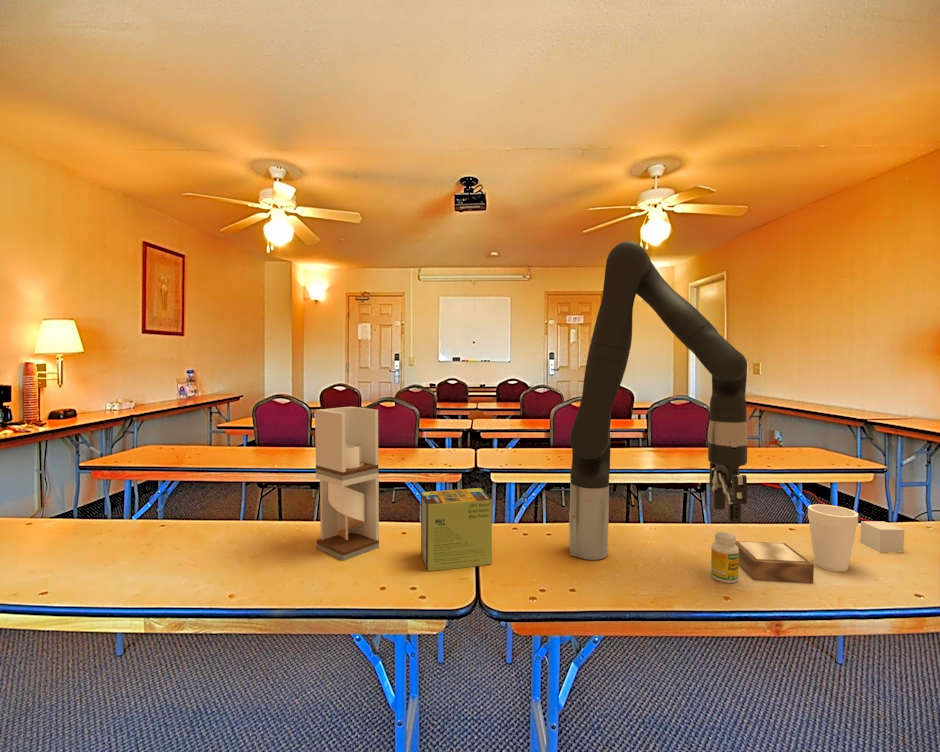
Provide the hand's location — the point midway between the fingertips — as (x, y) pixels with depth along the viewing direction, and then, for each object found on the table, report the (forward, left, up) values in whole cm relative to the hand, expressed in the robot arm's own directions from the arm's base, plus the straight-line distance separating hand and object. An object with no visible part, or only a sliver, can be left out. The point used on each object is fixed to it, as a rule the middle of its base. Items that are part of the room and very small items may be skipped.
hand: (726, 515), depth 107 cm
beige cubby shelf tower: (-88, +5, -14) cm, 89 cm away
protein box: (-60, +2, -14) cm, 62 cm away
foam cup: (+27, +10, -14) cm, 32 cm away
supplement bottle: (0, 0, -14) cm, 14 cm away
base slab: (+12, +6, -14) cm, 19 cm away
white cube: (+46, +23, -14) cm, 53 cm away
